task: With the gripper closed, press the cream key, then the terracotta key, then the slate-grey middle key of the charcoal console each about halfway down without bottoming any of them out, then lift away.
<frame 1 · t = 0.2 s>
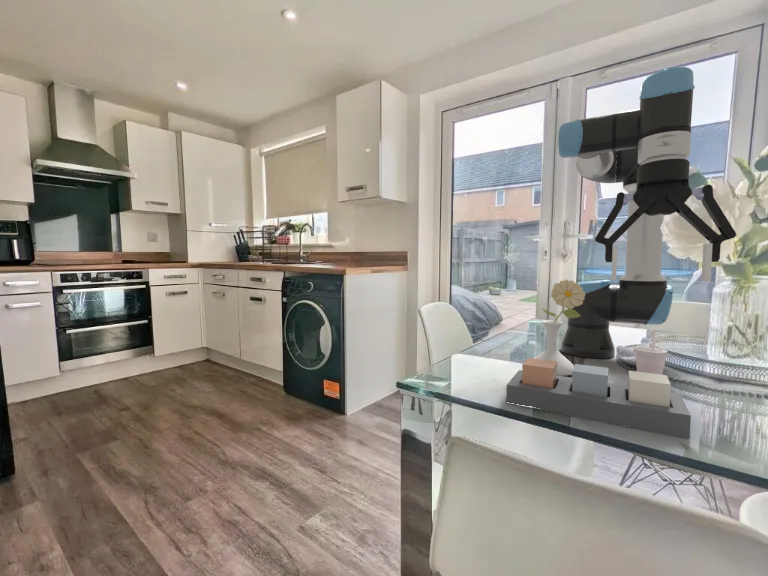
hand: (657, 280, 67), 26 cm above the table, fingers open, 13 cm apart
key slate: (590, 381, 74), point 5 cm above the table, slide at 0.0 cm
console: (589, 408, 75), on the table
key terracotta: (539, 374, 79), point 5 cm above the table, slide at 0.0 cm
key cream: (647, 390, 69), point 5 cm above the table, slide at 0.0 cm
smoothie: (648, 391, 84), on the table
flower in vase: (554, 374, 97), on the table
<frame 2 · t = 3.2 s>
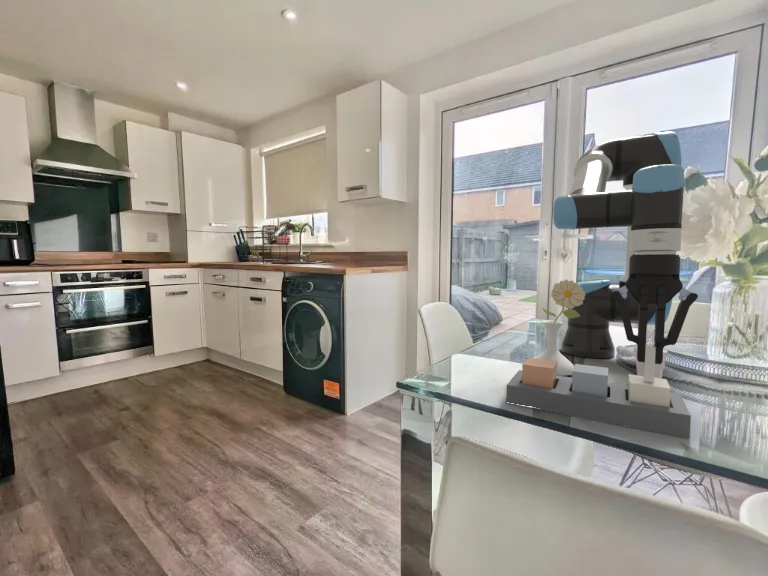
hand: (648, 379, 69), 8 cm above the table, fingers closed
key cream: (647, 393, 69), point 5 cm above the table, slide at 0.8 cm, touching gripper
everything else where it was.
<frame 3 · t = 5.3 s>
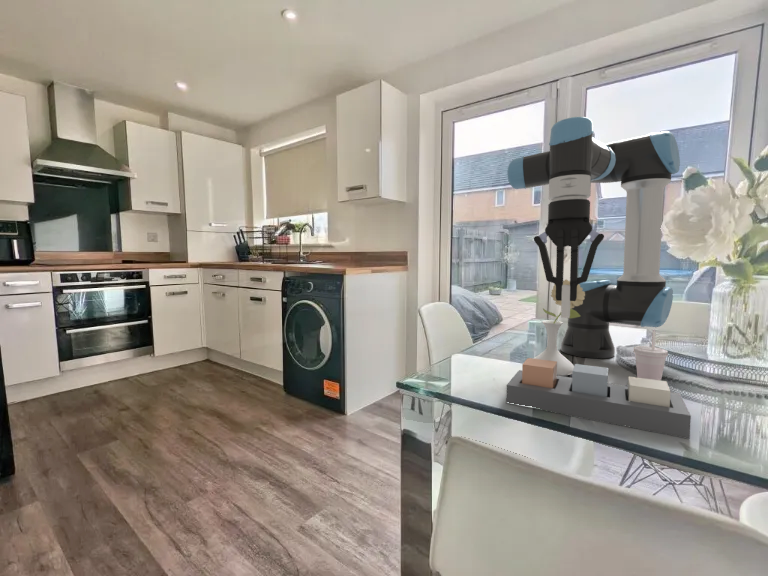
hand: (565, 316, 76), 18 cm above the table, fingers closed
key cream: (647, 396, 69), point 4 cm above the table, slide at 1.2 cm
everything else where it was.
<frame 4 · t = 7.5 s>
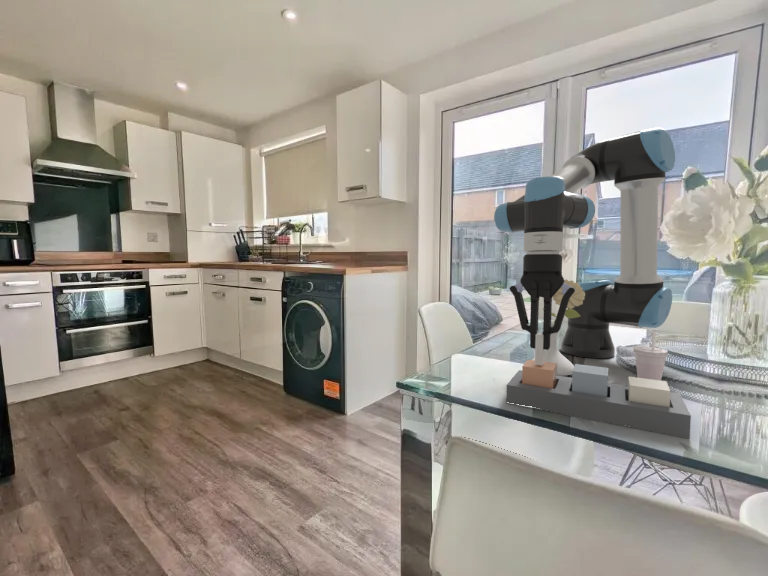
hand: (539, 363, 79), 8 cm above the table, fingers closed
key terracotta: (539, 376, 79), point 5 cm above the table, slide at 0.4 cm, touching gripper
everything else where it was.
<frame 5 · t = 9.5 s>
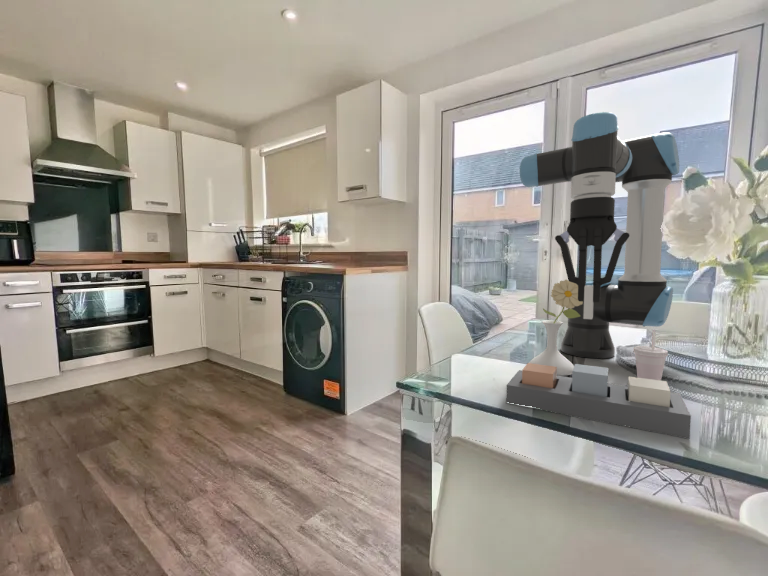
hand: (588, 318, 74), 18 cm above the table, fingers closed
key terracotta: (539, 379, 79), point 4 cm above the table, slide at 1.2 cm
everything else where it was.
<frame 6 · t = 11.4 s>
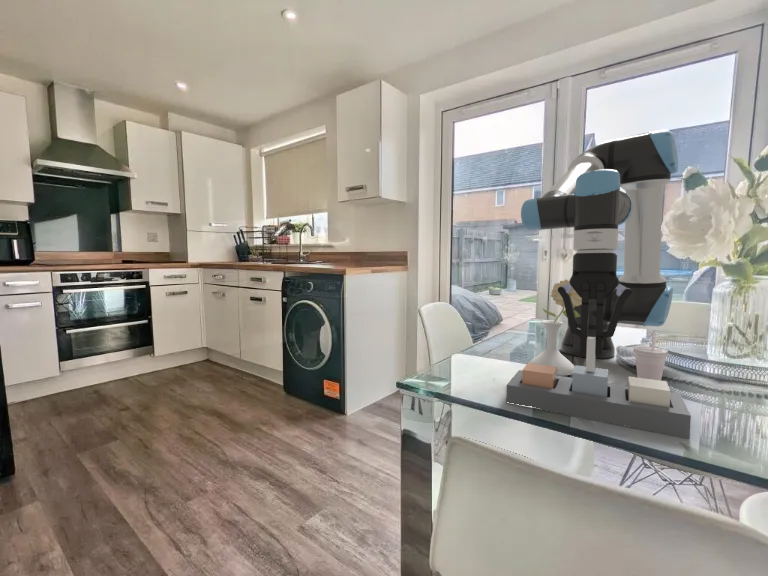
hand: (590, 369, 74), 8 cm above the table, fingers closed
key slate: (590, 383, 74), point 5 cm above the table, slide at 0.3 cm, touching gripper
everything else where it was.
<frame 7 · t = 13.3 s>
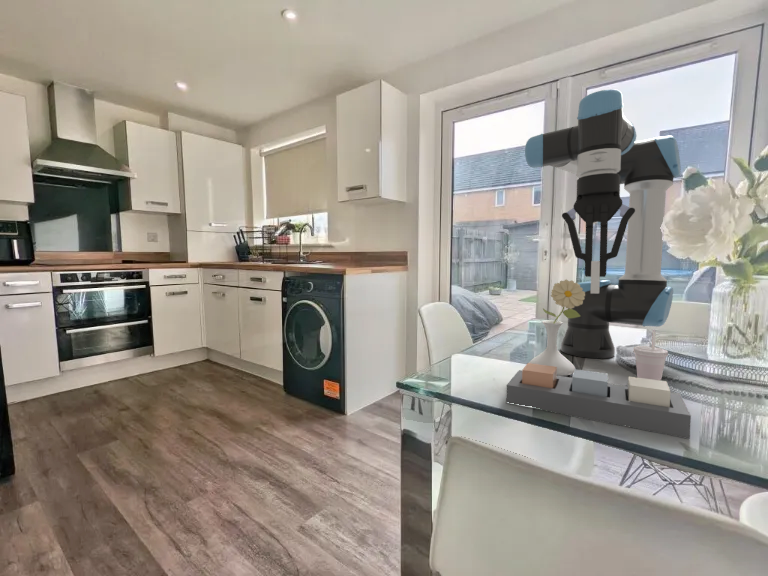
hand: (594, 292, 76), 23 cm above the table, fingers closed
key slate: (589, 387, 74), point 4 cm above the table, slide at 1.2 cm
everything else where it was.
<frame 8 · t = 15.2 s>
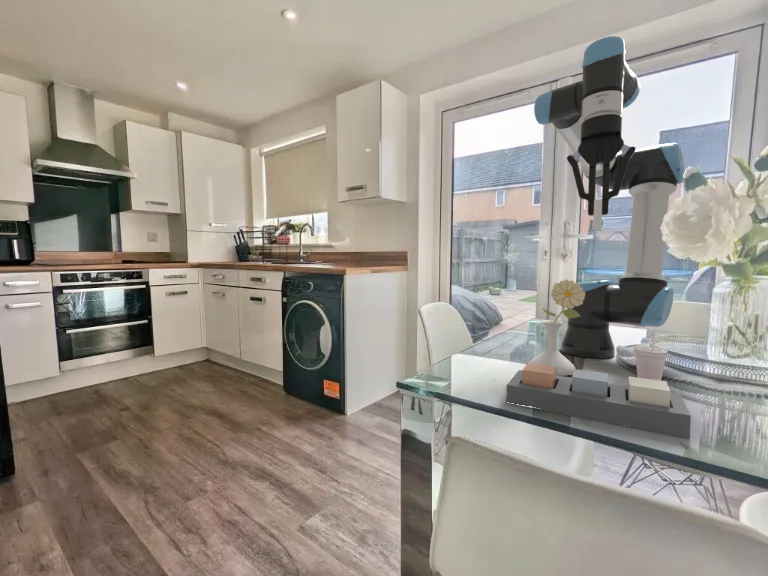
hand: (597, 230, 80), 36 cm above the table, fingers closed
nothing on the table moved.
at the end: key cream slide at 1.2 cm; key terracotta slide at 1.2 cm; key slate slide at 1.2 cm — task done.
